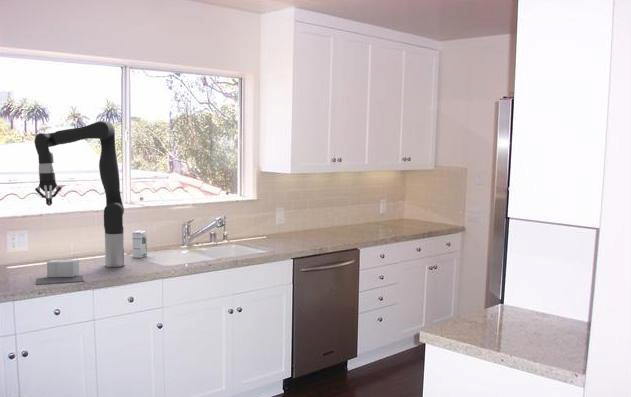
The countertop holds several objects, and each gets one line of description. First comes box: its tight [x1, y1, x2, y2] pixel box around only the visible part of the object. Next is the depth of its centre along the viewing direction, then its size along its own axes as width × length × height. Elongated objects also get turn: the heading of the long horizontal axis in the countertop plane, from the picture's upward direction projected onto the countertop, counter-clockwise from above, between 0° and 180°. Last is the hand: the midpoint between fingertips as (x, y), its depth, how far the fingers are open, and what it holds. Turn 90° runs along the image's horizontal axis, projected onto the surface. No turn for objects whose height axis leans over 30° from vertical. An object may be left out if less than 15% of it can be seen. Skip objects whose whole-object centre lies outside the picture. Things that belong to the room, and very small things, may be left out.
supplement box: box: [46, 259, 80, 277], centre depth 280 cm, size 7×7×13 cm
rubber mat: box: [35, 274, 84, 286], centre depth 273 cm, size 20×12×1 cm, turn 113°
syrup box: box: [131, 230, 148, 259], centre depth 331 cm, size 6×6×14 cm
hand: (49, 205), depth 305 cm, fingers closed
